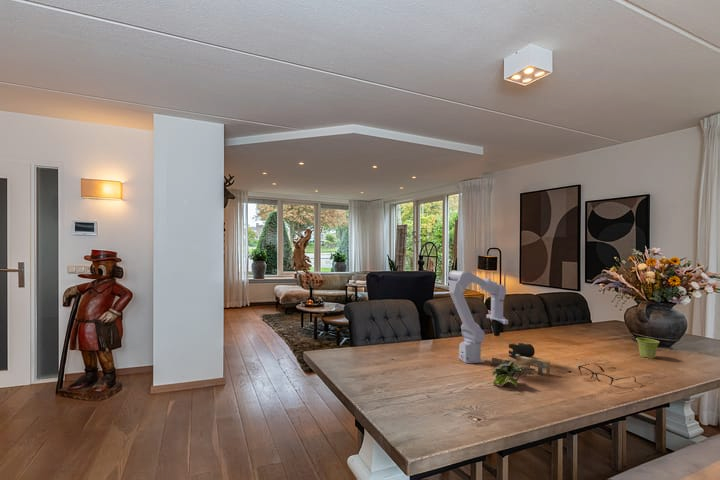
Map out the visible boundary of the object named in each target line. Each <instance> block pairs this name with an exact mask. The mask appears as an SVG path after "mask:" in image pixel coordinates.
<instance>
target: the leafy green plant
mask: <svg viewBox="0 0 720 480" xmlns="http://www.w3.org/2000/svg"><path fill="white" fill-rule="evenodd" d="M503 360H504V361H501V360H500V364H501V365H499V366H495V368H494V370H491V373H492V377H493V376H495V378H494V379H493V382H492V384H493V386H497V385H500V386H503V385H505V384H507V383H508V382H509V381H510V382H511V384H513V385H514V390H516V388H517V387H518V381H519V378H520V377H521V375H522V374H523V373H522V372H523V371H524V368H522V366H520V367H518V368H519V369H517V364H515V363H514V362H513V361H512V362H511V363H510V361H507V360H508V359H503ZM518 372H520V373H518ZM514 374H517V375H518V374H519V376H518V377H516V378H514V376H513V375H514Z"/></svg>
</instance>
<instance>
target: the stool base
mask: <svg viewBox="0 0 720 480" xmlns="http://www.w3.org/2000/svg"><path fill="white" fill-rule="evenodd" d="M500 360H501V361H504V360H505V359H502V358H497V357H492V358H491V361H490V362H491V364H490V365H491V366H495V367H498V366H499V365H501V364H500ZM506 360H507V361H510V363H511V362H512V361H513V362H514V363H515V364H517V363H516V359H514V358H508V359H506ZM520 366H522V368H524V371H523V372H522V374H525V375H526V374H527V375H529V373H531V374H537V375H538V376H548V374H546V371H545V372H543V370H544V368H543V362H542V361H538V367H537V370H532V369H531V366H528V365H523V364H517V369H519V368H518V367H520ZM518 373H519V374H518V375H517V374H514V375H513V377H516V378H518V376H519V375H520V373H521V372H518Z"/></svg>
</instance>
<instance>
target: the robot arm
mask: <svg viewBox="0 0 720 480" xmlns="http://www.w3.org/2000/svg"><path fill="white" fill-rule="evenodd" d="M446 281H447V282H448V291H449V295H450V298H451V299H452V302H453V305H454V307H455V309H456V311H457V314H458V316H459V318H460V320H461V323H462V324H461V325H460V329H461V335H462V337H463V341H462V342H459V347H458V356H457V358H458V359H459V360H461V361H463V362H464V363H466V364H477V363H485V360H483V359H481V358H482V356H481V355H482V354H481V352H482V346H481V345H482V343H483V341H484V340H485V337H486V336H485V335H486V334H485V331H484V330H483V329H482V328H481V326H480V325H479V324H478V323H477V322H475V320H474V317H473V315H472V313H471V310H470V307H469V305H468V303H467V300H466V297H465V296H464V292H465V291H466V290H467V289H468V287H469V285H470V284H471V283H472V284H475V285H478V286H479V289H480V290H483V291H485V292H486V293H488V294H489V295H490V314H488V313H487V314H486V319H488V320H489V323H490V326H491V328H492V332H493V336H494V337H500V335H501V331H502V328H503V326H504V325H508V324H509V319H506V317H505V316H504V300H505V296H506V294H507V289H506V286H504V285H503V284H499V283H498V282H497V281H492V280H491V278H489V277H486V278H481V277H479V276H477V275H476V274H473V272H469V271H462V270H461V271H460V270H455V269H452V270H450V271H449V273H448V275H447V277H446Z"/></svg>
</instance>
